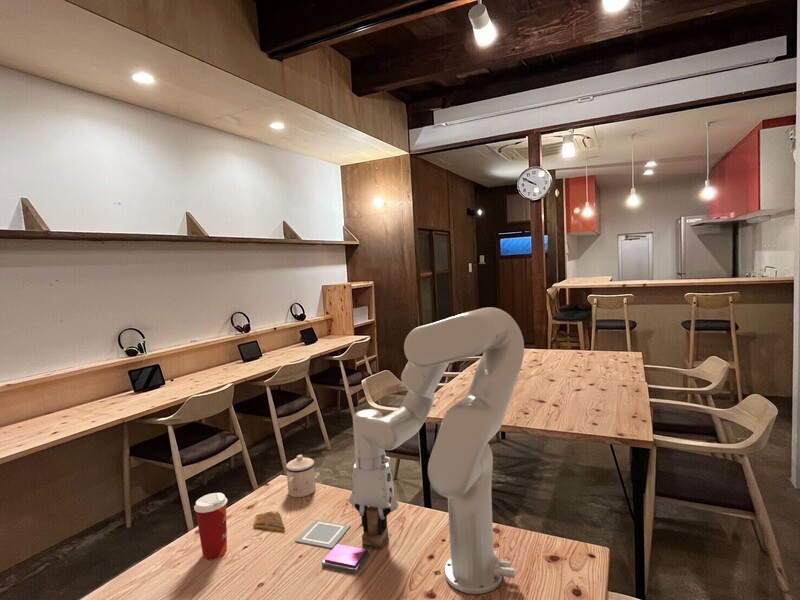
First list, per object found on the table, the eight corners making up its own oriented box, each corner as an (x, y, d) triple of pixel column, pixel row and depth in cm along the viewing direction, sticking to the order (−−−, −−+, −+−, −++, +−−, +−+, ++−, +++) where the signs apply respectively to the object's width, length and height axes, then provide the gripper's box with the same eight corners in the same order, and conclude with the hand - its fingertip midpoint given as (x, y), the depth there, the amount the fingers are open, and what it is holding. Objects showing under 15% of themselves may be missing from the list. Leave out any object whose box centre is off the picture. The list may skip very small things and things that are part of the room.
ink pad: (369, 554, 106) (368, 548, 106) (356, 573, 99) (355, 567, 99) (336, 548, 109) (336, 542, 109) (322, 566, 102) (321, 560, 102)
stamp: (388, 538, 112) (386, 505, 112) (380, 549, 107) (378, 515, 107) (370, 535, 114) (368, 502, 113) (362, 546, 109) (360, 512, 109)
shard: (285, 533, 118) (285, 527, 118) (256, 542, 114) (255, 535, 114) (279, 514, 127) (278, 508, 127) (251, 522, 124) (251, 516, 124)
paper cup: (236, 551, 110) (232, 497, 110) (206, 567, 105) (201, 510, 104) (222, 539, 116) (218, 488, 115) (193, 554, 110) (188, 500, 109)
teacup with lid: (296, 483, 146) (293, 449, 145) (321, 485, 143) (318, 450, 143) (277, 501, 134) (274, 465, 133) (304, 504, 132) (301, 466, 131)
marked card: (350, 526, 118) (350, 525, 118) (332, 548, 109) (332, 547, 109) (315, 520, 122) (315, 519, 122) (295, 541, 113) (294, 540, 113)
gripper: (406, 457, 110) (410, 527, 111) (348, 451, 116) (352, 517, 117) (395, 469, 103) (400, 544, 104) (334, 462, 109) (338, 533, 110)
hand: (374, 529), depth 110 cm, fingers closed on stamp, 3 cm apart
